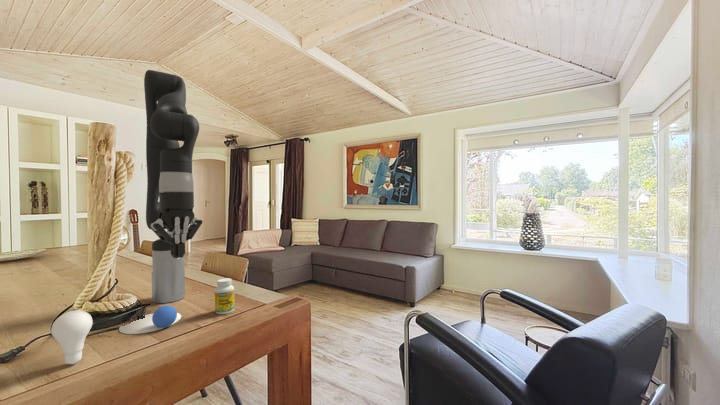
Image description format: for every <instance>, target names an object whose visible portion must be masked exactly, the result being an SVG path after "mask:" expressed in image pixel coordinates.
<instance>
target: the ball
mask: <svg viewBox="0 0 720 405" xmlns="http://www.w3.org/2000/svg"><path fill="white" fill-rule="evenodd" d="M153 313H154V314H153ZM153 313H152V314H153V316H152V321H153V324H154V325H155V326H157V327H160V328H163V329H165V328H164V327H166V328H168V327H171V326H172V325H171V324H172V323H173V322H174V321H175V320H176V317H177V313H178V312H177V309H176V308H175V307H174V306H172V305H162V306H159V308H157V309H155V311H154V312H153ZM170 325H171V326H170Z"/></svg>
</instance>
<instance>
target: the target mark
mask: <svg viewBox="0 0 720 405" xmlns="http://www.w3.org/2000/svg"><path fill="white" fill-rule="evenodd" d="M153 314H154V312H153V313H147V314H145V318H143V319H139V320H136V321H133V322H131V323H130V324H127V325H125V326H121V325H120V326H119V328H118V331H119V332H120V333H121V334H124V335H139V334H140V335H141V334H148V333H151V332H156V331H161V330H163V329H165V328H167V327H164V328H160V327H157V326H155V325H154V324H153V321H152V316H153ZM181 319H182V315H181V313H179V312H177V317H176V320H175V321H174V322H173V323H172V324H171V325H170V326H169V327H171V326H173V325H175V324H177V323H178V322H180V320H181Z"/></svg>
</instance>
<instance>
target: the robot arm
mask: <svg viewBox="0 0 720 405" xmlns="http://www.w3.org/2000/svg"><path fill="white" fill-rule="evenodd" d="M143 80H144V82H143V86H144V87H143V89H144V101H145V102H144V103H145V111H146V112H145V114H146V115H145V116H146V139H145V140H146V142H145V143H146V144H145V147H146V148H145V151H146V152H145V153H146V154H145V156H146V174H147V175H146V176H147V179H146V180H147V181H146V182H147V185H146V187H147V188H146V205H145V207H146V208H145V222H146V226H147V228H148V229H149V230H152V232H153V233H154V234H155V235H156V236H157V237H158V239H156V240H154V241H152V243H151V259H152V262H151V263H152V271H151V299H152V302H153V303H155V304H167V303H173V302H177V301H179V300H182V299H184V298H185V297H186V269H185V267H186V266H185V264H186V263H185V253H186V242H187V241H189V240H192V239H193V238H194V237H195V235H196V233H197V232H198V230H199V228H200V227H201V226H202V224H203V220H202V219H198V218H197V217H195V216H196V215H195V213H194V211H193V209H194V207H195V204H194V203H195V202H194V201H195V199H194V198H195V196H194V194H195V193H194V191H195V190H194V189H195V188H194V187H195V186H194V177H193V152H194V148H195V145H196V142H197V139H198V137H199V132H200V123H199V121H198V119H197V118H196V117H195V116H194V115H191V114H188V111H187V108H186V101H187V89H186V84H185V81H184V79H183V78H182V77H181V76H179V75H176V74H172V73H171V74H170V73H167V72H163V71H158V70H151V69H148V70H146V71H145V73H144V77H143ZM180 142H183V144H182V145H181V146H180Z"/></svg>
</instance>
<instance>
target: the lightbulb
mask: <svg viewBox="0 0 720 405" xmlns="http://www.w3.org/2000/svg"><path fill="white" fill-rule="evenodd" d="M93 324H94V321H93V317H92V315H91V314H90V313H89V312H87V311H84V310H81V309H80V310H79V309H75V310H70V311H67V312H65V313H62V314H61V315H60V316H58V317H57V318H56V319H55V321H54V322H53V323H52V325H51V329H50V332H51V336H52V337H53V338H54V340H55V341H56V342H58V343H59V345H60V347H61V352H62V354H63V357H64V363H65V364H66V365H71V366H72V365H75V364H77V363H78V362H80V361H81V360H82V358H83V350H84V348H85V347H84V346H85V345H84V344H85V341H86V338H87V336H88V334H89V332H90V330H91V329H92V327H93Z"/></svg>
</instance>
